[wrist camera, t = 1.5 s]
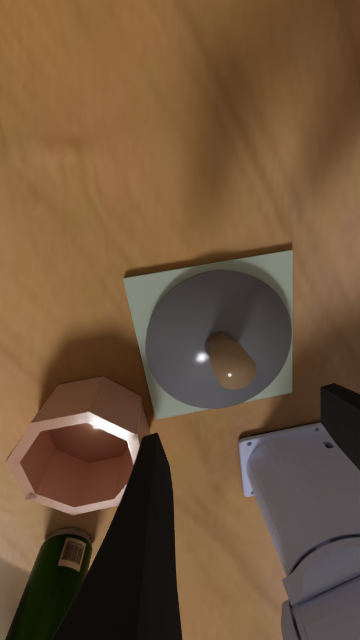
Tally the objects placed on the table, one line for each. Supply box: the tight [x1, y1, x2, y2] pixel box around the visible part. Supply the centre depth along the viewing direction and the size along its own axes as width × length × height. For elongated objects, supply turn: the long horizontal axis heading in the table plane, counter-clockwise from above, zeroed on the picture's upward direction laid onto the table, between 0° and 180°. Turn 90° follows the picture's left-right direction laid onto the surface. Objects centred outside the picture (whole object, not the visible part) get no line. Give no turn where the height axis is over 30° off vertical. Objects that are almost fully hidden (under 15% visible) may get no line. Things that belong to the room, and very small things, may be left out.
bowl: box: [6, 376, 150, 515], centre depth 19 cm, size 9×9×4 cm
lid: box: [145, 270, 292, 409], centre depth 17 cm, size 12×12×5 cm
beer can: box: [5, 528, 92, 640], centre depth 20 cm, size 5×5×12 cm
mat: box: [123, 250, 293, 419], centre depth 19 cm, size 13×13×1 cm
